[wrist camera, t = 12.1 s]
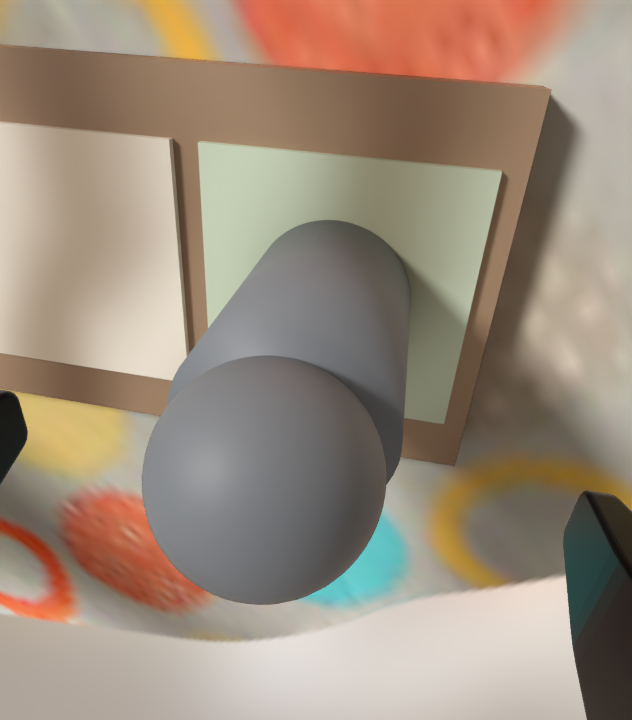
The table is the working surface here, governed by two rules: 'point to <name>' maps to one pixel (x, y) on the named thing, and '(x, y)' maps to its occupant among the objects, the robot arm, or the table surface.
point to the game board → (243, 212)
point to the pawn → (285, 420)
